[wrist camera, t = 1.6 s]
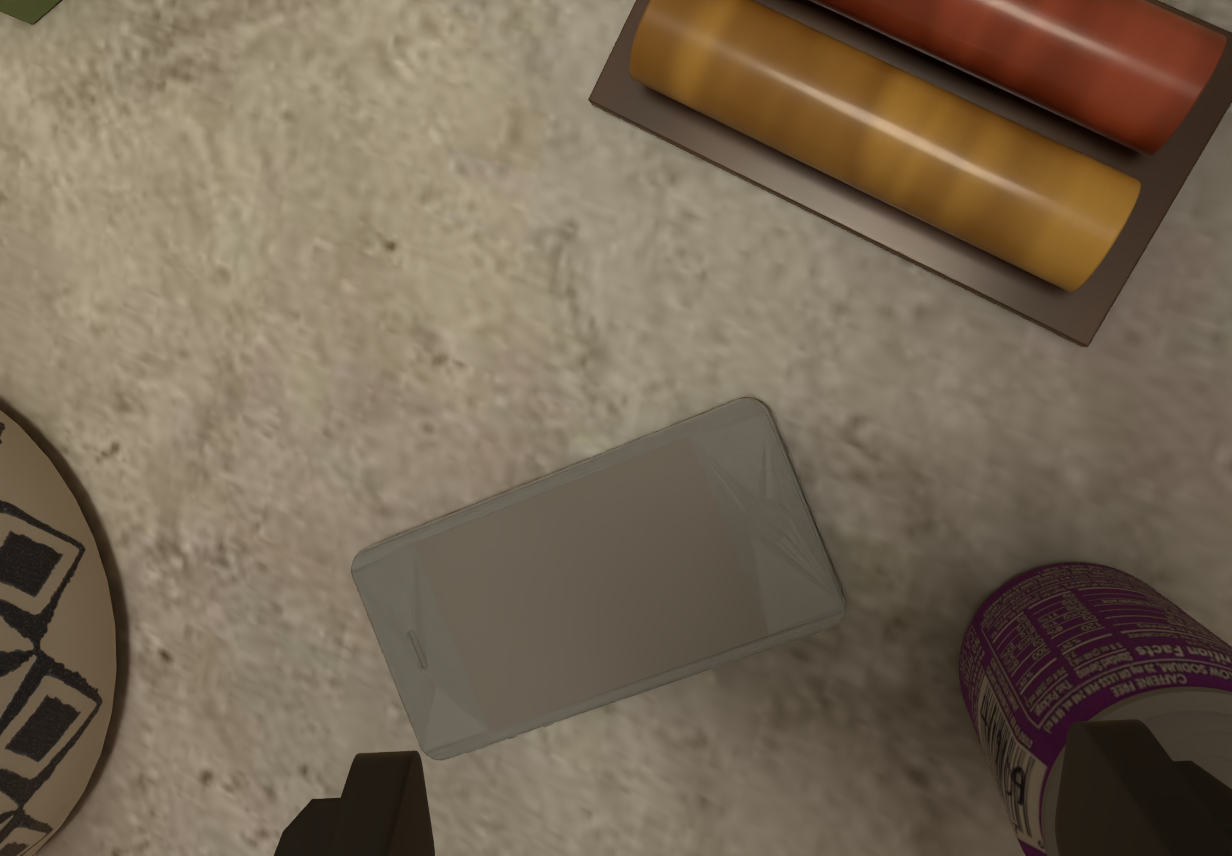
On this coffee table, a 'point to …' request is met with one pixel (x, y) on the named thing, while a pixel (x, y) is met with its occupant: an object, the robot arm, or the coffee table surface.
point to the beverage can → (1087, 681)
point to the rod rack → (945, 126)
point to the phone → (600, 581)
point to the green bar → (27, 8)
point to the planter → (48, 647)
